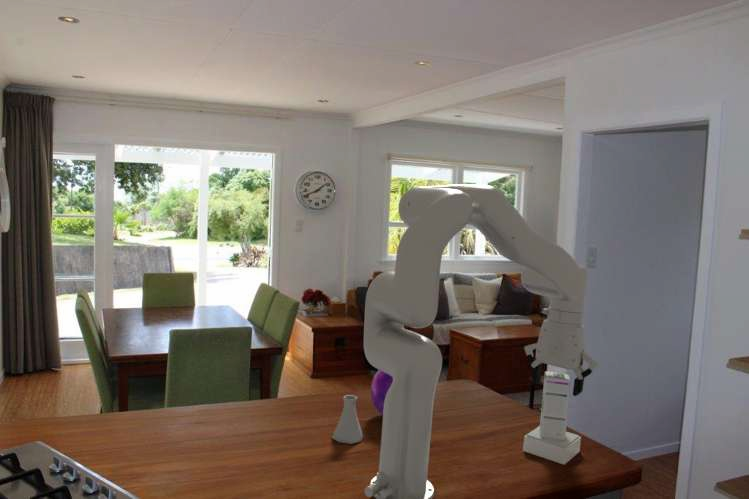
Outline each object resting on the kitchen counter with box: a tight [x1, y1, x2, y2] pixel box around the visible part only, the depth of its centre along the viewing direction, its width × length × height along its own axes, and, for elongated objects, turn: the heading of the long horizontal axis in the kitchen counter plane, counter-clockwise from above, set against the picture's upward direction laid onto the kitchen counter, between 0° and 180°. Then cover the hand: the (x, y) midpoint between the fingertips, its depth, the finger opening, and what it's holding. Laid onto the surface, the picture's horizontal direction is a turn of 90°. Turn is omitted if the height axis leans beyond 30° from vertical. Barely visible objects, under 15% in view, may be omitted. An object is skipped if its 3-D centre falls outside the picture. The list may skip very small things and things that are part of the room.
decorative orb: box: [370, 369, 393, 416], centre depth 157 cm, size 15×15×15 cm
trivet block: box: [522, 425, 582, 466], centre depth 144 cm, size 10×10×4 cm
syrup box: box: [539, 371, 571, 441], centre depth 143 cm, size 6×6×14 cm
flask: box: [331, 394, 364, 445], centre depth 143 cm, size 7×7×10 cm
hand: (555, 389), depth 143 cm, fingers open, 9 cm apart
